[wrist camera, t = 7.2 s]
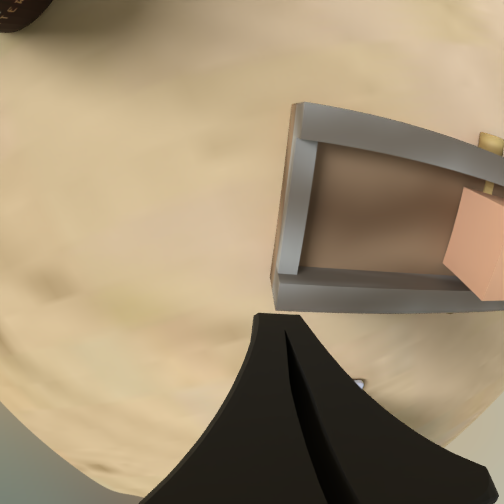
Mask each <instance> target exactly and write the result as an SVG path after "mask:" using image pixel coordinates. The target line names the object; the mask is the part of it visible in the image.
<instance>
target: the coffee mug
mask: <svg viewBox="0 0 504 504" xmlns="http://www.w3.org/2000/svg"><path fill="white" fill-rule="evenodd" d="M51 2H52V0H0V33H9V32H15V31H18V30H21V29H22V28H24V27H26V26H28V25H29V24H30V23H32V22H33V21H34V20H35V19H36V18H38V17H39V16H40V15H41V14H42V13H43V12H44V10H45V9H46V8H47V7H48V6H49V4H50V3H51Z"/></svg>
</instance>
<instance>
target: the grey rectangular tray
mask: <svg viewBox="0 0 504 504" xmlns="http://www.w3.org/2000/svg"><path fill="white" fill-rule="evenodd" d="M503 148H504V140H503V139H501V138H499V137H496V136H493V135H490V134H487V133H483V132H480V138H479V145H478V147H477V146H474V145H471V144H469V143H466V142H463V141H460V140H458V139H455V138H452V137H449V136H446V135H443V134H440V133H437V132H433V131H430V130H427V129H424V128H420V127H417V126H413V125H410V124H406V123H403V122H399V121H395V120H391V119H387V118H383V117H379V116H375V115H371V114H366V113H362V112H357V111H352V110H348V109H343V108H337V107H332V106H326V105H321V104H315V103H308V102H302V103H296V104H292V107H291V116H290V125H289V133H288V142H287V150H286V159H285V167H284V175H283V183H282V191H281V199H280V206H279V214H278V222H277V229H276V237H275V244H274V252H273V259H272V266H271V273H270V280H271V286H272V292H273V298H274V305H275V310H276V311H297V312H325V313H377V314H409V313H448V314H452V313H458V312H483V311H502V310H504V300H502V301H481V300H480V299H479V298H478V297H477V296H476V295H475V294H474V293H473V292H472V291H471V290H470V289H469V288H468V287H467V286H466V285H465V284H464V283H463V282H462V281H461V280H460V279H459V278H458V277H457V276H456V275H455V274H454V273H453V272H452V271H451V270H450V269H448V268H447V267H446V266H445V265H444V264H443V260H444V257H445V254H446V251H447V247H448V244H449V241H450V238H451V234H452V231H453V227H454V224H455V220H456V216H457V213H458V209H459V205H460V201H461V197H462V192H463V188H464V187H466V188H470V189H473V190H477V191H481V192H484V193H487V194H491V195H494V196H498V197H501V198H504V157H502V155H503Z"/></svg>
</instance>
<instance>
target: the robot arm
mask: <svg viewBox="0 0 504 504" xmlns="http://www.w3.org/2000/svg"><path fill="white" fill-rule="evenodd" d="M363 386H364V383H363V381H362V380H353V379H352V378H351V377H350V376H349V375H348V374H347V373H346V372H345V371H344V370H343V369H342V368H341V366H340V365H339V364H338V363H337V362H336V361H335V359H334V358H333V357H332V356H331V355H330V353H329V352H328V351H327V350H326V349H325V347H324V346H323V345H322V344H321V342H320V341H319V340H318V338H317V337H316V336H315V334H314V333H313V332H312V330H311V329H310V328H309V327H308V325H307V324H306V323H305V321H304V320H303V319H302V317H301V316H300V315H289V314H269V313H257V314H256V315H254V318H253V326H252V334H251V342H250V345H249V348H248V351H247V354H246V357H245V359H244V362H243V364H242V367H241V369H240V371H239V373H238V375H237V377H236V380H235V382H234V384H233V386H232V388H231V390H230V391H229V393H228V395H227V397H226V399H225V400H224V402H223V404H222V405H221V407H220V409H219V410H218V412H217V414H216V415H215V417H214V418H213V420H212V421H211V423H210V424H209V425H208V427H207V428H206V430H205V431H204V433H203V434H202V435H201V437H200V438H199V439H198V441H197V442H196V443H195V444H194V446H193V447H192V448H191V449H190V451H189V452H188V453H187V454H186V455H185V456H184V458H183V459H182V460H181V461H180V462H179V464H178V465H177V466H176V467H175V468H174V469H173V470H172V471H171V472H170V474H169V475H168V476H167V477H166V478H165V479H164V480H163V481H162V482H160V483H159V484H158V485H157V486H156V487H155V488H154V489H153V490H152V491H151V492H150V493H149V494H148V495H147V496H146V497H145V498H144V499H143V500H142V501H140V503H139V504H494V503H495V502H496V501H497V499H498V497H499V495H498V492H497V490H496V488H495V485H494V483H493V481H492V479H491V476H490V474H489V472H488V470H487V468H486V467H485V466H482V465H480V464H477V463H475V462H472V461H470V460H468V459H465V458H463V457H461V456H459V455H456V454H454V453H452V452H450V451H448V450H446V449H444V448H442V447H441V446H439V445H437V444H435V443H433V442H432V441H430V440H428V439H426V438H425V437H423V436H422V435H420V434H418V433H417V432H415V431H414V430H412V429H411V428H410V427H408V426H407V425H405V424H404V423H402V422H401V421H400V420H398V419H397V418H395V417H394V416H393V415H392V414H390V413H389V412H388V411H386V410H385V409H384V408H383V407H382V406H381V405H379V404H378V403H377V402H376V401H375V400H374V399H372V398H371V397H370V396H369V395H368V394H367V393H366V392H365V391H364V390H363Z"/></svg>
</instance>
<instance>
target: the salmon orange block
mask: <svg viewBox="0 0 504 504" xmlns="http://www.w3.org/2000/svg"><path fill="white" fill-rule="evenodd" d="M443 264H444V265H445V266H446V267H447V268H448V269H450V270H451V271H452V272H453V273H454V274H455V275H456V276H457V277H458V278H459V279H460V280H461V281H462V282H463V283H464V284H465V285H466V286H467V287H468V288H469V289H470V290H471V291H472V292H473V293H474V294H475V295H476V296H477V297H478V298H479V299H480V300H481V301H502V300H504V198H501V197H498V196H494V195H491V194H487V193H484V192H481V191H477V190H473V189H470V188H466V187H464V188H463V192H462V197H461V201H460V205H459V209H458V213H457V216H456V220H455V224H454V227H453V231H452V234H451V238H450V241H449V244H448V247H447V251H446V254H445V257H444V260H443Z"/></svg>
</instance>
